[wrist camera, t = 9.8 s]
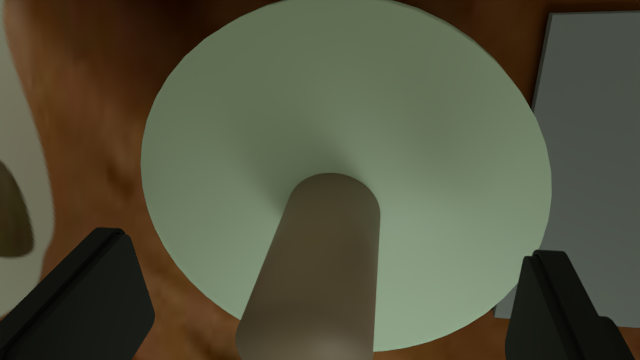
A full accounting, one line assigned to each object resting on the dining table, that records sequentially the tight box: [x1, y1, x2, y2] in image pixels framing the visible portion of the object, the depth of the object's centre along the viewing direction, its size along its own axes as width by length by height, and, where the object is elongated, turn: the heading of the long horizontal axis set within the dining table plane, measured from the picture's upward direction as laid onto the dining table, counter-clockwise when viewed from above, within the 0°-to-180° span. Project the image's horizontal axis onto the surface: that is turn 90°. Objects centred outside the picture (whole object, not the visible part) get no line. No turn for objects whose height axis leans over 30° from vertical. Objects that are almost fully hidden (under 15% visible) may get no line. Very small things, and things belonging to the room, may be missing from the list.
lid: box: [141, 0, 552, 360], centre depth 11 cm, size 12×12×6 cm
